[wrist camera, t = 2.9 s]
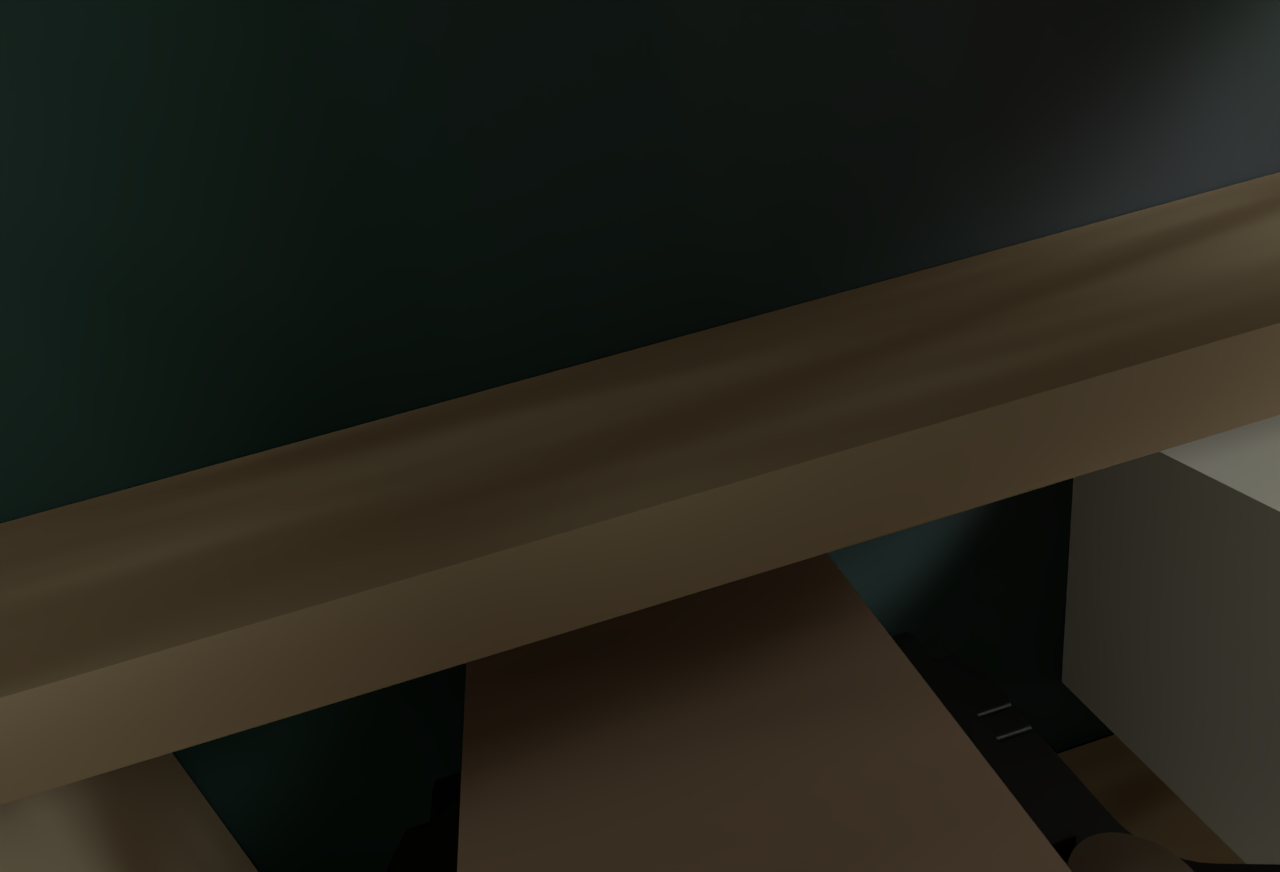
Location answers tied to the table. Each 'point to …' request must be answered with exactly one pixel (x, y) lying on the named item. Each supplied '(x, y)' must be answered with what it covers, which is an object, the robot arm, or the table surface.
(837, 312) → the bin
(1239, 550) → the cream block
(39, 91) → the table surface
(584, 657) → the walnut block
